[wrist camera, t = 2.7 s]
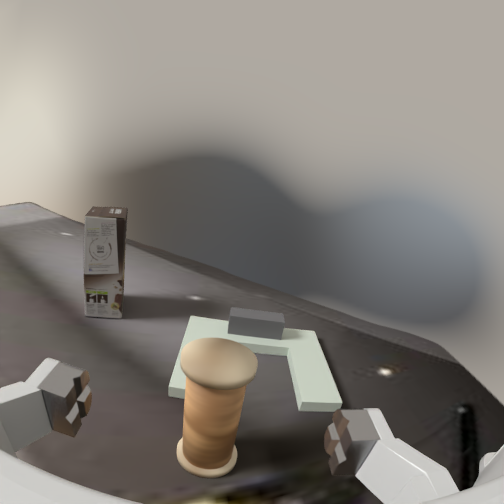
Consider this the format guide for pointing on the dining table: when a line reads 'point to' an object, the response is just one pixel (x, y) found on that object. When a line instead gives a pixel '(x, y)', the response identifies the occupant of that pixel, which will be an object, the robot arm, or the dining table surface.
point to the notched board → (269, 342)
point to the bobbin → (213, 404)
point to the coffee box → (104, 261)
